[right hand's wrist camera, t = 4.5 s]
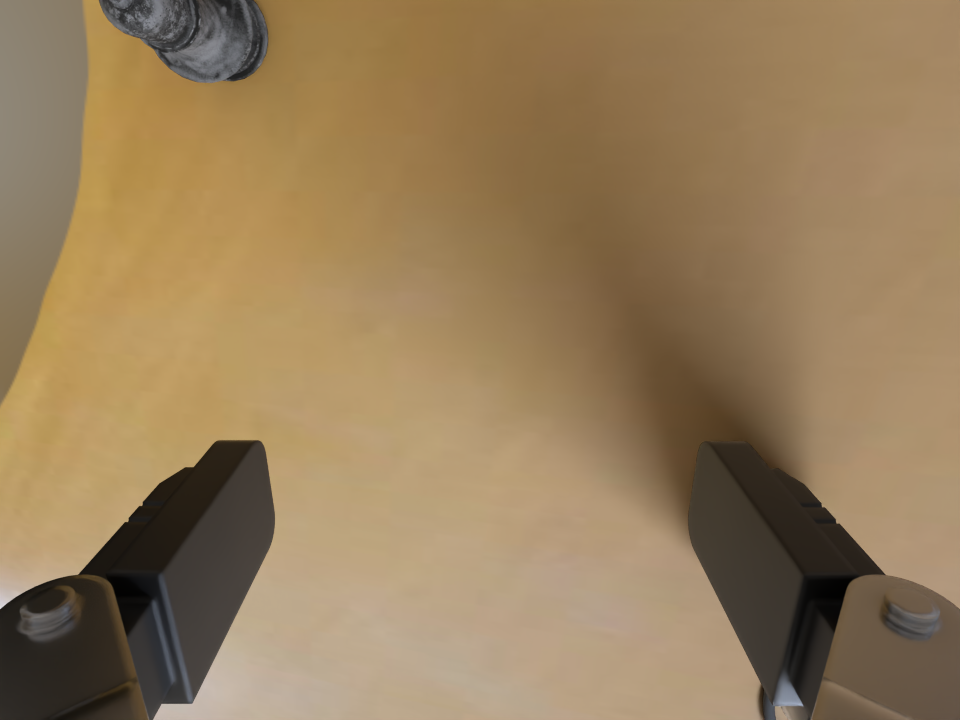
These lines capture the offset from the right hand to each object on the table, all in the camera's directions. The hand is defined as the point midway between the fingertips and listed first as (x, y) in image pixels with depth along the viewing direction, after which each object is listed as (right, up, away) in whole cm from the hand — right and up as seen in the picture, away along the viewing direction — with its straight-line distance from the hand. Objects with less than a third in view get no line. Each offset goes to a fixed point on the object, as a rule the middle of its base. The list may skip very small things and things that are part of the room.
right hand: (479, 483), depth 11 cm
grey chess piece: (-15, +22, +25) cm, 37 cm away
